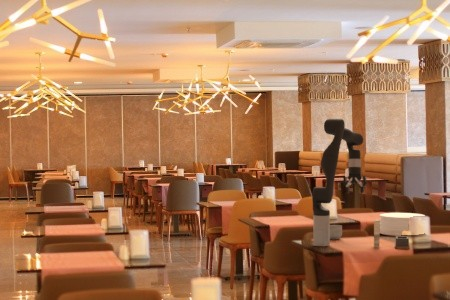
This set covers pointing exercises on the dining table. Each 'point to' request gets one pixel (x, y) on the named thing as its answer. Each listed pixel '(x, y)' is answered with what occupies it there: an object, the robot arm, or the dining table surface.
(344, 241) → the dining table surface
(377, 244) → the slat
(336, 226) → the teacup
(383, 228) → the plate stack
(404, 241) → the dark grey block
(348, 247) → the dining table surface
